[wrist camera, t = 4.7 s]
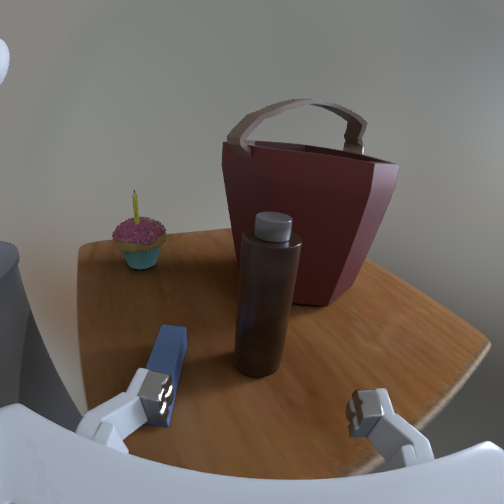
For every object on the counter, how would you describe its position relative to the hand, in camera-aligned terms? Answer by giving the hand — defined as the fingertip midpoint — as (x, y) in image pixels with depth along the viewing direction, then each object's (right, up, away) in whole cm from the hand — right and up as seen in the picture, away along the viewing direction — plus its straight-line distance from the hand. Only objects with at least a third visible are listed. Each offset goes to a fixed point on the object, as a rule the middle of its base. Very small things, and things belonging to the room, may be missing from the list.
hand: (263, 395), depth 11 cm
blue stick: (-8, -5, +11) cm, 14 cm away
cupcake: (-18, +4, +31) cm, 36 cm away
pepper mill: (0, -4, +14) cm, 15 cm away
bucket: (+7, +2, +31) cm, 32 cm away
